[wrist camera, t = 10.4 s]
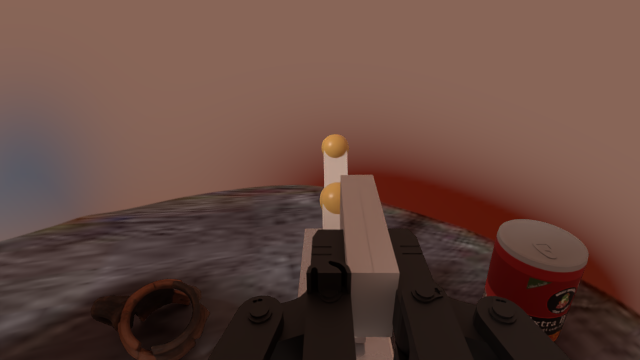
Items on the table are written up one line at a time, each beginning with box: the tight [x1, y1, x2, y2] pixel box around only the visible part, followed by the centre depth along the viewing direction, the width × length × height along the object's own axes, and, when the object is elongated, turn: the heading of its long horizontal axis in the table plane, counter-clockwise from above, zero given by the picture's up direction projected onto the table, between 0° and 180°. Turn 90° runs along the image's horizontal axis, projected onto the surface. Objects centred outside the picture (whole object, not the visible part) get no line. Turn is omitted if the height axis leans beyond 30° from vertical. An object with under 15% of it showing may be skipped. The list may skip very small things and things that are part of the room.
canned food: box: [483, 219, 589, 342], centre depth 36 cm, size 8×8×11 cm
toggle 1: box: [322, 134, 349, 188], centre depth 44 cm, size 4×4×15 cm
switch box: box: [298, 229, 394, 360], centre depth 41 cm, size 10×32×4 cm, turn 179°
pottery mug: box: [91, 279, 210, 360], centre depth 36 cm, size 12×10×8 cm
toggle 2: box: [320, 182, 366, 343], centre depth 33 cm, size 4×4×15 cm
